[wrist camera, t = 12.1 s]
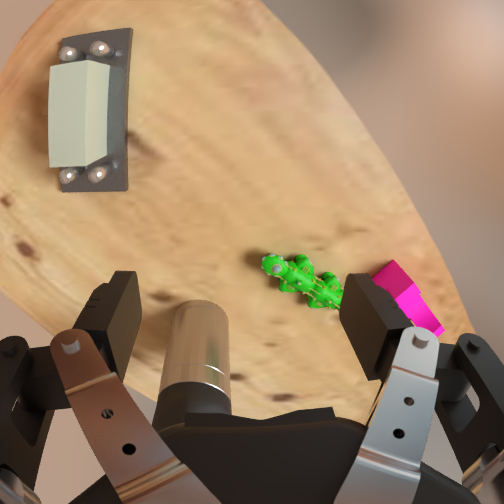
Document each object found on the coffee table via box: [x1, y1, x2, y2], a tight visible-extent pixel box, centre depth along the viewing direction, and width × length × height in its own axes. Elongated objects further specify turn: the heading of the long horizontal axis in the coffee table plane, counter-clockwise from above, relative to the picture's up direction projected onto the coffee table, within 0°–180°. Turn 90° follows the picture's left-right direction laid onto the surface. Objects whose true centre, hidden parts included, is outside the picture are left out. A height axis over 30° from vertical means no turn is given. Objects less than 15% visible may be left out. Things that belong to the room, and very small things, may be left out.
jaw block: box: [48, 60, 110, 168], centre depth 32 cm, size 5×12×7 cm, turn 175°
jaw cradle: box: [58, 28, 133, 192], centre depth 34 cm, size 22×10×5 cm, turn 176°
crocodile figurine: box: [261, 253, 344, 311], centre depth 48 cm, size 7×18×4 cm, turn 55°
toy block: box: [372, 260, 445, 337], centre depth 50 cm, size 15×6×8 cm, turn 44°
